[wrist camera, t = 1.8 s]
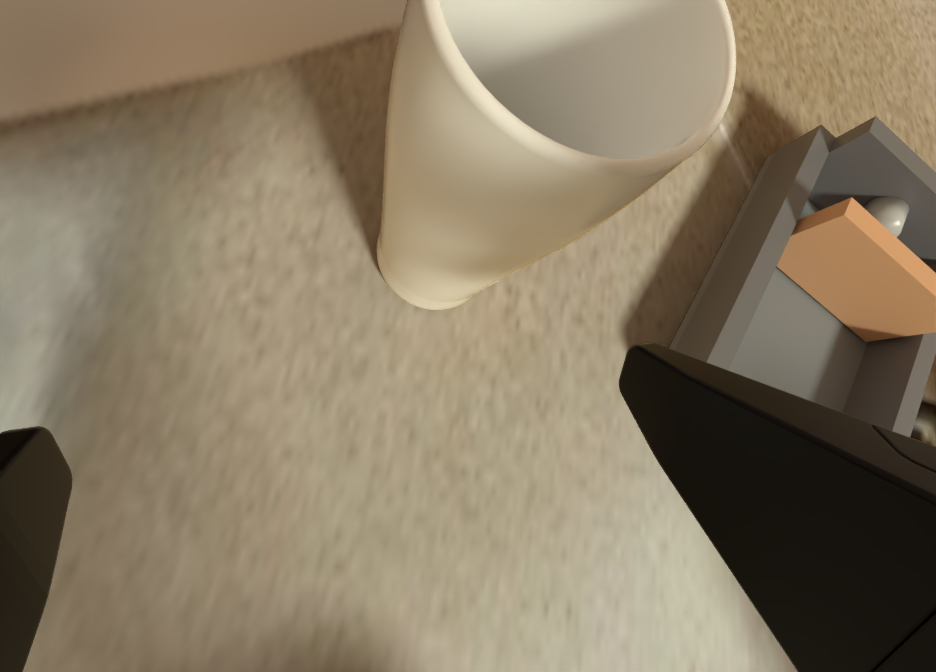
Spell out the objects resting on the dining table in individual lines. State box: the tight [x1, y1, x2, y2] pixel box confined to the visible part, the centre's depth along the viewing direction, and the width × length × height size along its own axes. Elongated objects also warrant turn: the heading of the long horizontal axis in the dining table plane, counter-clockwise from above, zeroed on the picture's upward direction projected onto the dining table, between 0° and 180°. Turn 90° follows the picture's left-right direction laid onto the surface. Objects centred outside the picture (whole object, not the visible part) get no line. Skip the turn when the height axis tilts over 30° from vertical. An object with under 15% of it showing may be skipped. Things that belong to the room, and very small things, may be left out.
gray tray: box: [669, 116, 936, 437], centre depth 26 cm, size 18×12×6 cm
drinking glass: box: [377, 0, 736, 310], centre depth 16 cm, size 7×7×15 cm
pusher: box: [777, 197, 936, 342], centre depth 26 cm, size 1×9×5 cm, turn 56°
